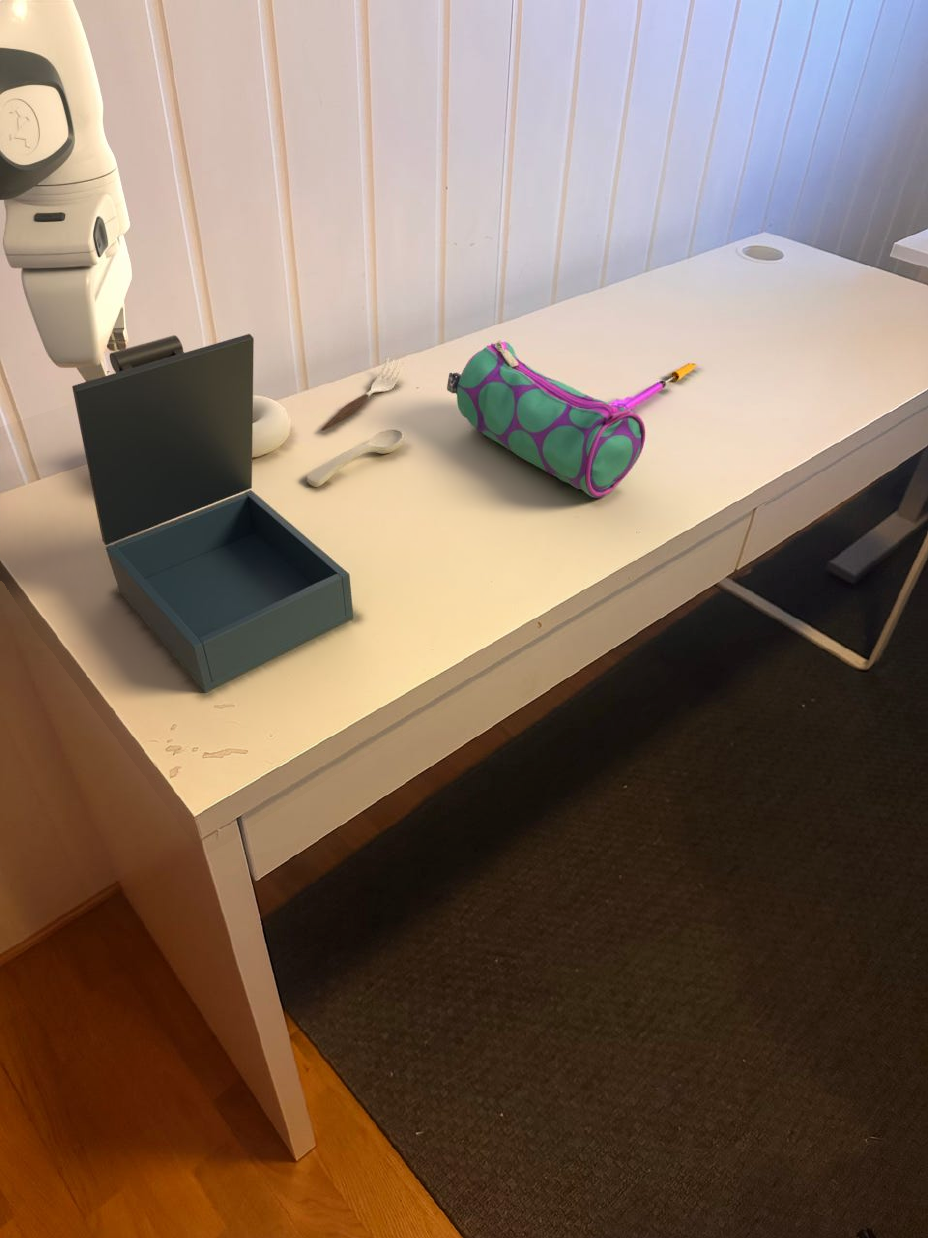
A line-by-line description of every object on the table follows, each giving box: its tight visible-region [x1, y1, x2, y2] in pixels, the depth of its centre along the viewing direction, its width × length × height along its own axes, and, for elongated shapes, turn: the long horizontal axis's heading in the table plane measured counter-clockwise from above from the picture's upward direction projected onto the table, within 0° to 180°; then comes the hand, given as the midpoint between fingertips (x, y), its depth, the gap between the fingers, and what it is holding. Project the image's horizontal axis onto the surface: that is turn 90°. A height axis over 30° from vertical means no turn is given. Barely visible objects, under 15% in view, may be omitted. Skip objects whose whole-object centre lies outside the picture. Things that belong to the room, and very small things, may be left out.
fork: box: [320, 357, 406, 432], centre depth 100 cm, size 3×16×2 cm, turn 153°
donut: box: [252, 394, 292, 459], centre depth 93 cm, size 10×4×10 cm
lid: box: [72, 333, 255, 546], centre depth 70 cm, size 16×13×4 cm
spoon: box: [306, 428, 405, 488], centre depth 91 cm, size 3×12×2 cm, turn 135°
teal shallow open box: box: [105, 489, 354, 693], centre depth 73 cm, size 15×13×5 cm
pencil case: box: [446, 340, 646, 499], centre depth 90 cm, size 21×9×10 cm, turn 39°
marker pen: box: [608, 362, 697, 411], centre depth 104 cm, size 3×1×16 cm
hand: (111, 369), depth 81 cm, fingers open, 8 cm apart
